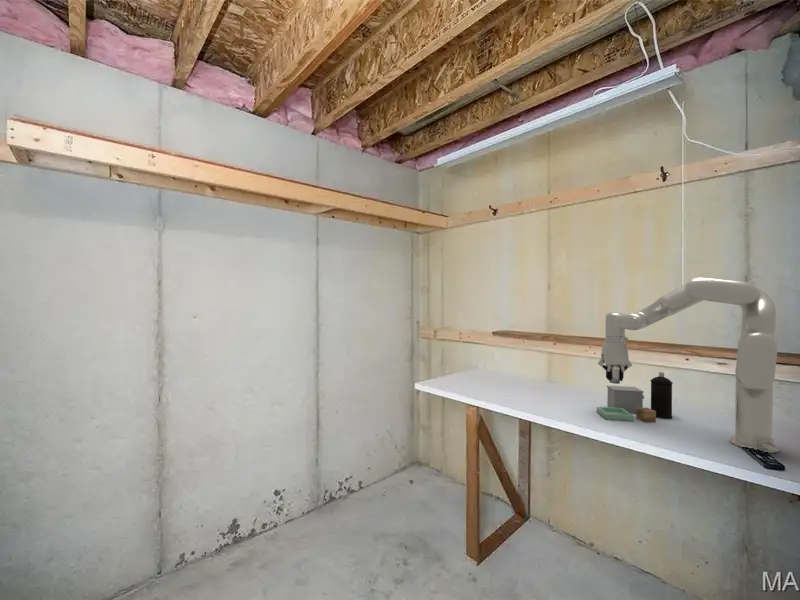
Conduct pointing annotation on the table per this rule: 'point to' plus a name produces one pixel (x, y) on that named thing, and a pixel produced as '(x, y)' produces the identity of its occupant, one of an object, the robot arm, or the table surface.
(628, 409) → the box
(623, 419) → the tray
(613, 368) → the fuse
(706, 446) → the table surface
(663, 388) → the aerosol can
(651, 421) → the walnut block
